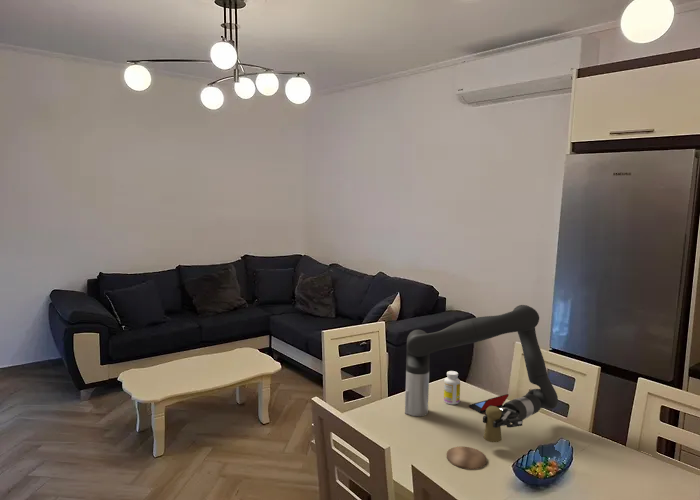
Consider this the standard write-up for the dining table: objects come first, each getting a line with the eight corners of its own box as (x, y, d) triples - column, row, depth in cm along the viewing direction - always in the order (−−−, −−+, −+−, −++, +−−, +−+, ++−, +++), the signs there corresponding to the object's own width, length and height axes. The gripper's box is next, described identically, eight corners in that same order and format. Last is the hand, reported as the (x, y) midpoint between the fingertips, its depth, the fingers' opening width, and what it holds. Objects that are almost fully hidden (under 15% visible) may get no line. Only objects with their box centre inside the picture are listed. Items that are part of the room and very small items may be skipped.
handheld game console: (489, 401, 212) (490, 384, 211) (508, 411, 203) (509, 393, 202) (467, 407, 206) (468, 390, 205) (486, 417, 196) (487, 399, 196)
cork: (502, 443, 167) (504, 412, 166) (483, 441, 168) (485, 410, 167) (500, 434, 173) (502, 404, 172) (482, 432, 174) (484, 403, 173)
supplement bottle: (457, 398, 214) (458, 369, 213) (461, 405, 207) (462, 375, 206) (441, 398, 214) (442, 370, 212) (445, 405, 207) (446, 375, 206)
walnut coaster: (448, 467, 159) (448, 465, 159) (445, 447, 172) (445, 445, 172) (489, 470, 158) (489, 468, 158) (483, 450, 171) (483, 447, 171)
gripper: (501, 393, 183) (472, 404, 173) (536, 406, 172) (507, 419, 162) (500, 412, 184) (471, 425, 174) (535, 427, 173) (506, 441, 163)
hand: (489, 422), depth 168 cm, fingers closed on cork, 3 cm apart
